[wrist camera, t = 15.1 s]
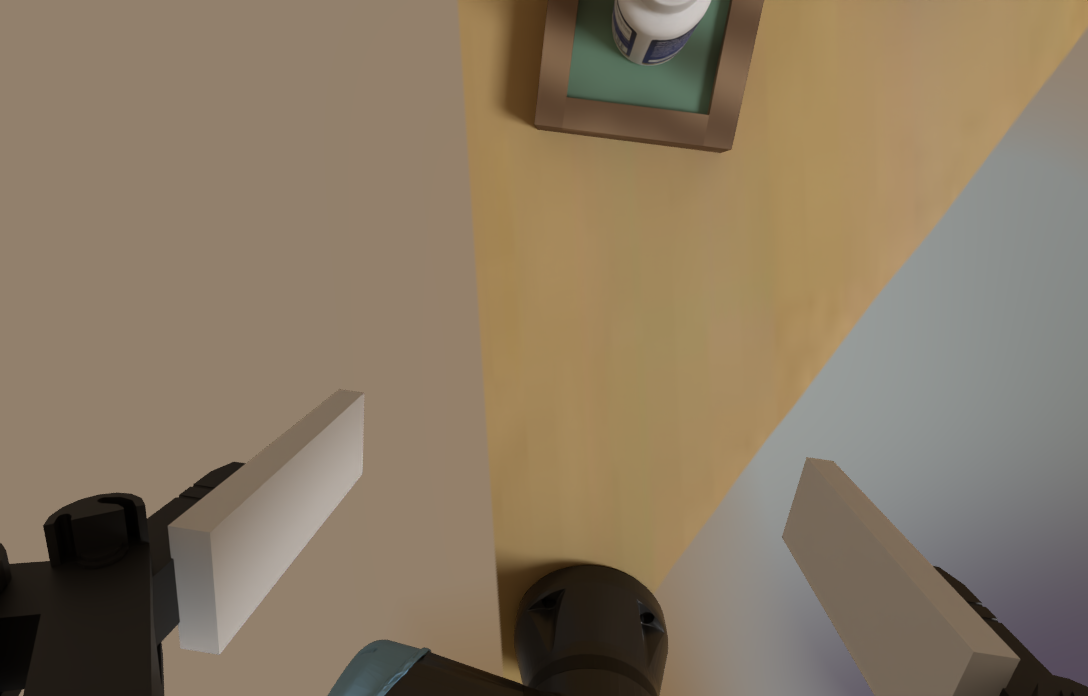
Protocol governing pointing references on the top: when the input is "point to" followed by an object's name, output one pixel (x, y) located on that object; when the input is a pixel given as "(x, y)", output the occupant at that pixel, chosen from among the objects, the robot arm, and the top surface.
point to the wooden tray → (645, 78)
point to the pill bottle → (655, 27)
